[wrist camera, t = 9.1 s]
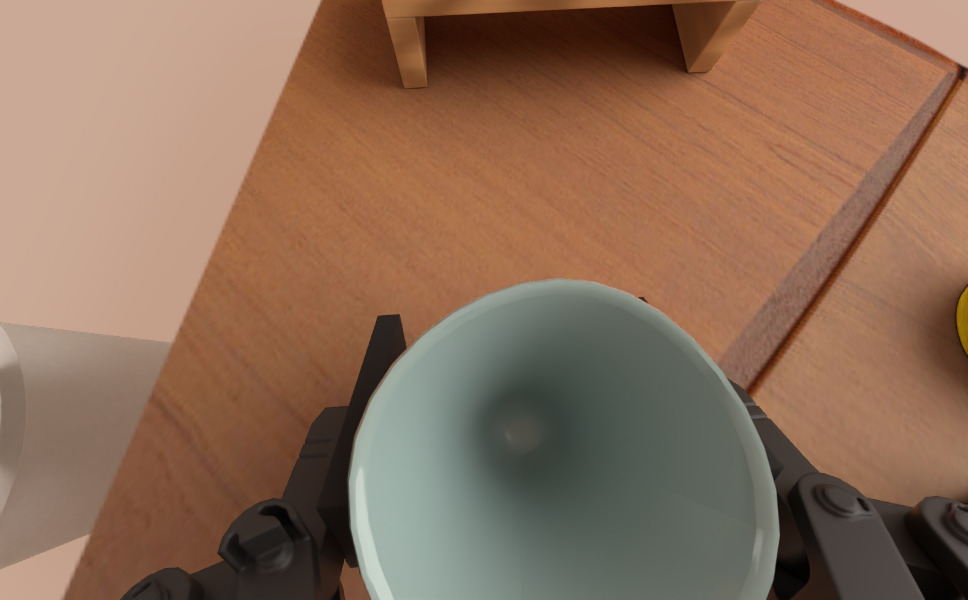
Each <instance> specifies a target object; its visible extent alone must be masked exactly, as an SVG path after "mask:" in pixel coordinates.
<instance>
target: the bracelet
mask: <svg viewBox="0 0 968 600" xmlns="http://www.w3.org/2000/svg"><path fill="white" fill-rule="evenodd" d="M956 320H957V328H958V333H959V336H960V340H961V343H962V345H963V348H964V350H965V351H966V353H967V355H968V287H967V288H966V289H965V291H964V292H963V294H962V295H961V297H960V299H959V302H958V306H957V314H956Z"/></svg>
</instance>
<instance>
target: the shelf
mask: <svg viewBox="0 0 968 600" xmlns="http://www.w3.org/2000/svg"><path fill="white" fill-rule="evenodd" d="M381 1H382V5H383V9H384V13H385V16H386V20H387V24H388V28H389V32H390V36H391V40H392V43H393V47H394V51H395V55H396V59H397V63H398V66H399V70H400V74H401V78H402V82H403V85H404V88H418V87H427V68H426V47H425V26H424V16H442V15H462V14H482V13H502V12H522V11H542V10H562V9H582V8H603V7H623V6H643V5H663V4H672V8H673V12H674V16H675V21H676V25H677V29H678V33H679V37H680V41H681V46H682V50H683V54H684V58H685V62H686V66H687V71H688V72H708V71H710V70H711V69H712V68H713V66H714V65H715V63H716V62H717V61H718V59H719V58H720V57H721V55H722V54H723V53H724V51H725V50H726V49H727V47H728V46H729V45H730V43H731V42H732V41H733V39H734V38H735V37H736V35H737V34H738V33H739V31H740V30H741V29H742V27H743V26H744V25H745V23H746V22H747V21H748V19H749V18H750V17H751V15H752V14H753V13H754V11H755V10H756V8H757V7H758V6H759V4H760V3H761V2H762V0H381Z"/></svg>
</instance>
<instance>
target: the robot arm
mask: <svg viewBox="0 0 968 600" xmlns="http://www.w3.org/2000/svg"><path fill="white" fill-rule="evenodd" d="M637 298H639V299H641V300H643V301H644V302H646V303H648V302H647V301H646V300H645V299H644V297H637ZM648 304H649V303H648ZM406 349H407V347H406V343H405V338H404V333H403V328H402V323H401V319H400V314H397V315H383V316H378V317H377V321H376V324H375V327H374V330H373V333H372V336H371V339H370V342H369V345H368V348H367V351H366V355H365V358H364V361H363V364H362V367H361V370H360V373H359V376H358V379H357V382H356V386H355V389H354V392H353V395H352V398H351V401H350V404H349V406H341V407H329V408H325V409H324V410H323V411H322V413H321V414H320V415H319V416H318V417H317V418H316V420H315V421H314V422H313V423H312V425H311V428H310V430H309V432H308V435H307V437H306V440H305V444H304V445H303V447H302V449H301V452H300V454H299V459H297V462H296V464H295V466H294V469H293V471H292V474H291V476H290V479H289V481H288V483H287V486H286V488H285V491H284V493H283V496H282V498H281V499H276V498H272V499H269V500H265V501H262V502H259V503H257V504H255V505H254V506H252V507H250V508H249V509H247V510H245V511H244V512H243V513H242V514H241V515H240V516H239V517H238V518H237V519H236V520H235V521H234V522H232V524H231V525H230V527H229V528H228V530H227V531H226V533H225V534H224V536H223V537H222V540H221V543H220V546H219V549H218V554H219V555H220V556H221V557H222V558H223V559H224V561H222V562H219V563H217V564H215V565H212V566H210V567H208V568H205V569H203V570H200V571H198V572H196V573H193V574H191V575H190V574H188V573H187V572H185V571H184V570H182V569H180V568H179V567H177V568H165V569H162V570H160V571H158V572H155V573H153V574H150V575H148V576H147V577H146V578H144V579H143V580H141V581H140V582H139V583H137V584H136V585H134V586H133V587H132V588H131V589H130V590H129V591H128V592H127V593H126V594H125V595H124V596H123V597H122V598H121V599H120V600H345V597H344V590H343V586H342V583H341V581H340V576H341V571H342V567H343V563H344V558H345V560H346V562H347V563H348V565H349V567H350V568H354V567H358V564H357V559H356V555H355V551H354V546H353V542H352V537H351V533H350V528H349V514H348V490H347V478H348V471H349V465H350V459H351V453H352V446H353V440H354V436H355V433H356V431H357V428H358V426H359V423H360V421H361V418H362V416H363V413H364V411H365V408H366V406H367V403H368V401H369V398H370V397H371V395H372V394H373V392H374V391H375V389H376V388H377V386H378V385H379V383H380V382H381V380H382V379H383V377H384V375H385V374H386V372H387V371H388V369H389V368H390V366H391V365H392V363H393V362H394V361H395V360H396V359H397V358H398V357H399V356H400V355H401V354H402V353H403V352H404V351H405V350H406ZM727 379H728V378H727ZM728 381H729V382H730V384H731V385H732V387H733V388H734V390H735V391H736V393H737V394H738V396H739V397H740V399H741V400H742V402H743V403H744V405H745V407H746V409H747V411H748V413H749V415H750V417H751V420H752V422H753V424H754V426H755V428H756V430H757V433H758V435H759V437H760V439H761V441H762V443H763V445H764V448H765V452H766V455H767V459H768V462H769V466H770V470H771V473H772V477H773V481H774V484H775V488H776V494H777V507H778V519H779V532H780V537H779V544H778V551H777V558H776V565H775V572H774V579H773V582H772V585H771V588H770V590H769V593H768V596H767V598H766V600H968V505H965V504H963V503H961V502H958V501H956V500H953V499H949V498H944V497H940V496H933V497H925V498H924V499H923V500H922V501H921V502H920V503H918V504H917V505H916V506H915V507H914V508H913V507H908V506H903V505H898V504H894V503H889V502H884V501H880V500H875V499H870V498H866V497H865V496H864V495H862V494H861V493H860V492H859V491H858V490H857V489H855V488H854V487H852V486H851V485H849V484H847V483H846V482H844V481H842V480H841V479H839V478H836V477H833V476H830V475H828V474H825V473H820V472H819V471H817V470H816V469H815V468H814V467H813V466H812V465H811V463H810V462H809V461H808V460H807V459H806V458H805V457H804V456H803V455H802V454H801V452H800V451H799V450H798V449H797V448H796V447H795V446H794V445H793V444H792V443H791V441H790V440H789V439H788V438H787V437H786V436H785V435H784V434H783V433H782V432H781V430H780V429H779V428H778V427H777V426H776V425H775V424H774V423H773V422H772V420H771V419H768V418H767V415H766V414H765V413H764V412H763V411H762V409H761V408H760V407H759V406H756V404H755V402H754V401H753V400H752V398H751V397H750V396H749V395H748V394H747V393H746V392H745V391H744V390H743V389H742V388H741V387H740V386H738V385H737V384H735V383H734V382H732V381H731V380H729V379H728Z"/></svg>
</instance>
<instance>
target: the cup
mask: <svg viewBox="0 0 968 600" xmlns="http://www.w3.org/2000/svg"><path fill="white" fill-rule="evenodd" d="M347 490H348V514H349V528H350V533H351V537H352V542H353V546H354V551H355V555H356V559H357V564H358V568H359V573H360V575H361V578H362V580H363V583H364V585H365V588H366V590H367V593H368V595H369V598H370V600H766V598H767V596H768V593H769V590H770V588H771V585H772V582H773V579H774V572H775V565H776V558H777V551H778V544H779V537H780V532H779V519H778V507H777V494H776V488H775V484H774V481H773V477H772V473H771V470H770V466H769V462H768V459H767V455H766V452H765V448H764V445H763V443H762V441H761V439H760V437H759V435H758V433H757V430H756V428H755V426H754V424H753V422H752V420H751V417H750V415H749V413H748V411H747V409H746V407H745V405H744V403H743V402H742V400H741V399H740V397H739V396H738V394H737V393H736V391H735V390H734V388H733V387H732V385H731V384H730V382H729V381H728V379H727V378H726V376H725V375H724V373H723V372H722V370H721V369H720V367H719V366H718V365H717V364H716V363H715V362H714V361H713V360H712V358H711V357H710V356H709V355H708V354H707V353H706V352H705V351H704V349H703V348H702V347H701V346H700V345H699V344H698V343H697V342H696V340H695V339H694V338H693V337H692V336H691V335H689V334H688V333H687V332H686V331H685V330H683V329H682V328H681V327H680V326H679V325H677V324H676V323H675V322H674V321H673V320H671V319H670V318H669V317H668V316H666V315H665V314H664V313H663V312H662V311H660V310H658V309H656V308H655V307H653V306H651V305H650V304H648V303H646V302H644V301H643V300H641V299H639V298H637V297H636V296H634V295H632V294H630V293H629V292H626V291H623V290H620V289H617V288H614V287H611V286H608V285H604V284H601V283H598V282H595V281H589V280H578V279H568V278H550V279H542V280H534V281H525V282H520V283H517V284H514V285H510V286H507V287H504V288H501V289H498V290H495V291H491V292H488V293H485V294H483V295H482V296H480V297H478V298H476V299H474V300H472V301H470V302H468V303H466V304H464V305H462V306H460V307H458V308H456V309H454V310H453V311H451V312H450V313H448V314H447V315H445V316H444V317H443V318H441V319H440V320H439V321H437V322H436V323H435V324H433V325H432V326H431V327H429V328H428V329H427V330H425V331H424V332H423V333H421V334H420V335H419V336H418V337H417V338H416V339H415V340H414V341H413V342H412V344H411V345H410V346H409V347H408V348H407V349H406V350H405V351H404V352H403V353H402V354H401V355H400V356H399V357H398V358H397V359H396V360H395V361H394V362H393V363H392V365H391V366H390V368H389V369H388V371H387V372H386V374H385V375H384V377H383V379H382V380H381V382H380V383H379V385H378V386H377V388H376V389H375V391H374V392H373V394H372V395H371V397H370V398H369V401H368V403H367V406H366V408H365V411H364V413H363V416H362V418H361V421H360V423H359V426H358V428H357V431H356V433H355V436H354V440H353V446H352V453H351V459H350V465H349V471H348V478H347Z"/></svg>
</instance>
